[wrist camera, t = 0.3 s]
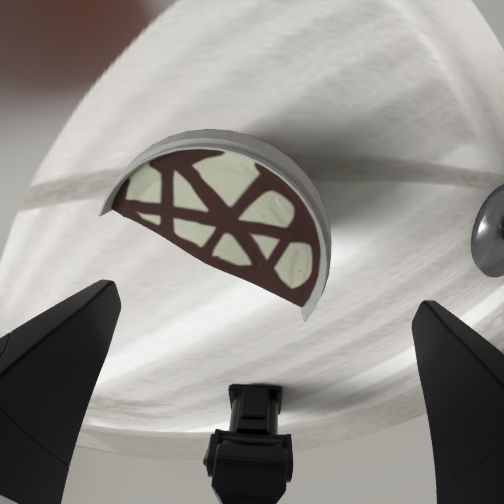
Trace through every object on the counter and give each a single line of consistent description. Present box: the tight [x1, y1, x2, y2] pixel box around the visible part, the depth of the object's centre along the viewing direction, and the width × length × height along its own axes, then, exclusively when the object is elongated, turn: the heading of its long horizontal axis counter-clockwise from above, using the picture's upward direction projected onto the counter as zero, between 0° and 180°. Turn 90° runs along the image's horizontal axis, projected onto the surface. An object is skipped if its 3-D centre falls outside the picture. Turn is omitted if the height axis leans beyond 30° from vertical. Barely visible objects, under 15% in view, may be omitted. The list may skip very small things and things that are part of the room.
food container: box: [99, 129, 332, 322], centre depth 16 cm, size 12×6×10 cm, turn 61°
